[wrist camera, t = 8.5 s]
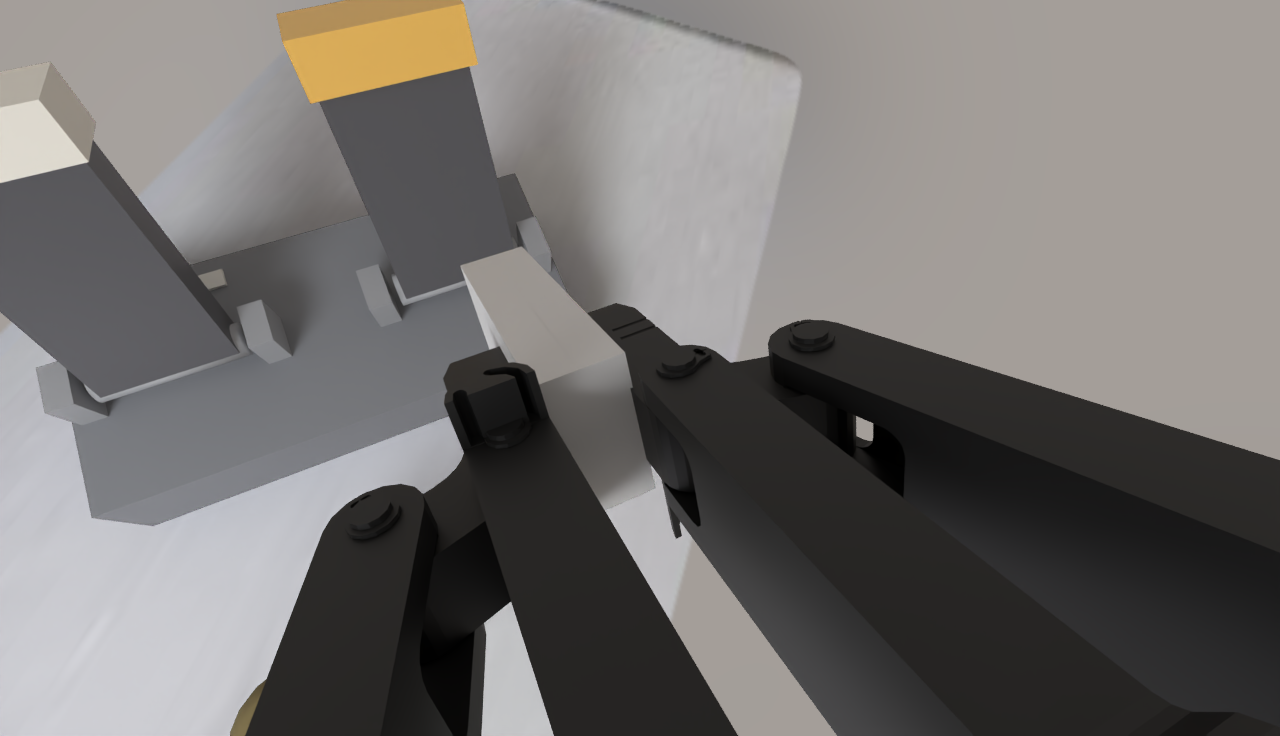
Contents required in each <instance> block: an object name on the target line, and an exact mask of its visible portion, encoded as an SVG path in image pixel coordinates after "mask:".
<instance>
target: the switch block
mask: <svg viewBox="0 0 1280 736" xmlns="http://www.w3.org/2000/svg"><path fill="white" fill-rule="evenodd" d="M497 181H498V185H499V189H500V193H501V197H502V201H503V205H504V209H505V213H506V217H507V221H508V226H509V230H510V234H511V238H512V237H513V238H514V240H515V242H516V244H517V246H518V247H523V248H524V249H525V250H526V251H527V252H528V253H529V254H530V255H531V257H532V258H533V259H534V260H535V261H536V262H537V263H538V264H539V265H540V266H541V267H542V268H543V269H544V270H545V271H546V272H547V273H548V274H549V275H550V276H551V277H552V278H553V279H554V280H555V281H556V282H557V283H558V284H559V285H560V286H561V287H562V288H563V289H564V290H565V291H566V288H565V286H564V284H563V282H562V279H561V277H560V275H559V273H558V270H557V268H556V266H555V263H554V261H553V259H552V257H551V250H550V248H549V245H548V243H547V241H546V239H545V236H544V234H543V232H542V230H541V227H540V225H539V223H538V221H537V218H536V216H535V217H534V216H533V213H532V211H531V209H530V207H529V204H528V202H527V200H526V197H525V195H524V193H523V191H522V188H521V186H520V184H519V181H518V179H517V177H516V175H515V173H514V174H511V175H507V176H504V177H500V178H497ZM190 266H191V268H192V269H193V270H194V272H195V273H196V274H197V276H198V277H199V278H200V279H201V281H202V282H203V283H204V285H205V286H206V287H207V288H208V290H209V291H210V292H211V294H212V295H213V296H214V298H215V299H216V300H217V301H218V303H219V304H220V305H221V307H222V308H223V309H224V311H225V312H226V313H227V314H228V316H229V317H230V318H231V320H232V321H233V322H234V323H237V322H239V323H240V324H242V327H243V331H244V334H245V338H246V341H247V345H248V348H249V349H250V350H252V351H253V352H254V353H253V354H252V355H249V356H246V357H243V358H240V359H237V360H234V361H231V362H228V363H224V364H221V365H218V366H215V367H212V368H209V369H206V370H203V371H200V372H197V373H193V374H190V375H187V376H184V377H181V378H178V379H175V380H172V381H169V382H166V383H162V384H159V385H156V386H153V387H150V388H147V389H144V390H141V391H138V392H135V393H131V394H128V395H125V396H122V397H119V398H116V399H113V400H110V401H107V402H103V403H101V402H98V401H96V400H95V399H94V398H93V397H92V396H91V395H90V394H89V393H88V391H87V390H86V388H85V386H84V383H83V382H81V381H80V380H79V379H78V378H77V377H76V376H74V375H73V374H72V373H71V372H70V371H69V370H67V369H66V368H65V367H64V366H63V365H62V364H60V363H59V362H58V361H57V362H54V363H50V364H47V365H44V366H40V367H37V368H36V371H37V376H38V381H39V386H40V392H41V397H42V402H43V407H44V412H45V413H46V414H49V415H52V416H55V417H58V418H61V419H64V420H67V421H70V422H72V425H73V430H74V434H75V439H76V444H77V449H78V454H79V459H80V463H81V468H82V473H83V478H84V483H85V487H86V492H87V497H88V502H89V507H90V512H91V516H92V518H96V519H103V520H111V521H119V522H126V523H134V524H141V525H149V526H154V525H157V524H160V523H163V522H165V521H168V520H171V519H173V518H176V517H179V516H181V515H184V514H187V513H189V512H192V511H195V510H197V509H200V508H203V507H205V506H208V505H211V504H214V503H216V502H219V501H222V500H224V499H227V498H230V497H232V496H235V495H238V494H240V493H243V492H246V491H248V490H251V489H254V488H256V487H259V486H262V485H264V484H267V483H270V482H273V481H275V480H278V479H281V478H283V477H286V476H289V475H291V474H294V473H297V472H299V471H302V470H305V469H307V468H310V467H313V466H315V465H318V464H321V463H324V462H326V461H329V460H332V459H334V458H337V457H340V456H342V455H345V454H348V453H350V452H353V451H356V450H358V449H361V448H364V447H366V446H369V445H372V444H375V443H377V442H380V441H383V440H385V439H388V438H391V437H393V436H396V435H399V434H401V433H404V432H407V431H409V430H412V429H415V428H417V427H420V426H423V425H426V424H428V423H431V422H434V421H436V420H439V419H442V418H444V417H447V416H449V415H448V413H447V410H446V408H445V405H444V399H445V394H446V393H447V390H446V387H445V383H444V380H443V377H444V375H445V373H446V371H447V369H448V367H449V364H450V363H453V362H456V361H459V360H461V359H464V358H467V357H470V356H473V355H476V354H479V353H481V352H484V351H487V350H489V347H488V344H487V341H486V338H485V335H484V332H483V330H482V327H481V324H480V321H479V318H478V315H477V312H476V310H475V307H474V304H473V301H472V298H471V295H470V292H469V290H468V287H467V285H466V286H463V287H460V288H457V289H454V290H451V291H448V292H445V293H441V294H438V295H435V296H432V297H429V298H426V299H423V300H420V301H417V302H414V303H410V304H407V305H404V306H403V304H402V302H401V300H400V297H399V295H398V293H397V290H396V288H395V285H394V282H393V279H392V276H391V275H392V274H395V272H394V270H393V268H392V266H391V263H390V261H389V259H388V256H387V254H386V252H385V250H384V247H383V245H382V243H381V241H380V238H379V236H378V234H377V232H376V229H375V227H374V225H373V223H372V220H371V218H370V216H369V215H366V216H362V217H359V218H355V219H352V220H348V221H345V222H341V223H338V224H334V225H331V226H327V227H323V228H320V229H316V230H313V231H309V232H306V233H302V234H299V235H295V236H292V237H288V238H285V239H281V240H278V241H274V242H270V243H267V244H263V245H260V246H256V247H253V248H249V249H246V250H242V251H239V252H235V253H232V254H228V255H224V256H221V257H217V258H214V259H210V260H207V261H203V262H200V263H196V264H193V265H190ZM566 292H567V291H566Z"/></svg>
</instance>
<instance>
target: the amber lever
mask: <svg viewBox="0 0 1280 736" xmlns="http://www.w3.org/2000/svg"><path fill="white" fill-rule="evenodd" d="M277 19H278V23H279V27H280V33H281V37H282V42H283V44H284V46H285V49H286V51H287V53H288V55H289V57H290V60H291V62H292V64H293V66H294V68H295V71H296V73H297V75H298V77H299V79H300V82H301V84H302V86H303V88H304V90H305V93H306V95H307V97H308V99H309V101H310V104H311V103H316V102H319V103H320V105H321V107H322V109H323V112H324V114H325V116H326V118H327V121H328V123H329V125H330V127H331V130H332V132H333V134H334V137H335V139H336V141H337V143H338V146H339V148H340V150H341V152H342V155H343V157H344V159H345V161H346V164H347V166H348V168H349V170H350V173H351V175H352V177H353V180H354V182H355V184H356V186H357V189H358V191H359V193H360V195H361V198H362V200H363V202H364V204H365V207H366V209H367V211H368V213H369V216H370V218H371V220H372V223H373V225H374V227H375V229H376V232H377V234H378V236H379V238H380V241H381V243H382V245H383V247H384V250H385V252H386V254H387V256H388V259H389V261H390V263H391V266H392V268H393V270H394V272H395V274H392V275H391V276H392V279H393V282H394V285H395V288H396V290H397V293H398V295H399V297H400V300H401V302H402V304H403V306H404V305H407V304H410V303H414V302H417V301H420V300H423V299H426V298H429V297H432V296H435V295H438V294H441V293H445V292H448V291H451V290H454V289H457V288H460V287H463V286H466V285H467V284H466V281H465V278H464V275H463V272H462V270H461V267H460V266H461V265H464V264H467V263H470V262H473V261H477V260H480V259H483V258H486V257H489V256H493V255H496V254H499V253H502V252H505V251H509V250H512V249H515V248H518V246H517V244H516V242H515V240H514V238H513V237H512V238H511V234H510V230H509V226H508V221H507V217H506V213H505V209H504V205H503V201H502V197H501V193H500V189H499V185H498V181H497V177H496V173H495V169H494V165H493V161H492V157H491V153H490V149H489V145H488V141H487V137H486V133H485V129H484V124H483V120H482V116H481V112H480V108H479V104H478V100H477V96H476V92H475V88H474V84H473V80H472V76H471V72H470V68H469V66H473V65H478V62H477V58H476V54H475V49H474V45H473V41H472V37H471V33H470V28H469V24H468V20H467V16H466V11H465V7H464V3H463V2H462V1H461V0H345V1H340V2H335V3H330V4H325V5H320V6H315V7H310V8H305V9H300V10H295V11H290V12H285V13H280V14H277Z"/></svg>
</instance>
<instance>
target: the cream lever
mask: <svg viewBox="0 0 1280 736" xmlns="http://www.w3.org/2000/svg"><path fill="white" fill-rule="evenodd" d="M95 125H96V122H95V120H94V119H93V118H92V116H91V115H90V114H89V112H88V111H87V110H86V108H85V107H84V106H83V104H82V103H81V102H80V100H79V99H78V98H77V96H76V95H75V94H74V93H73V91H72V90H71V88H70V87H69V86H68V84H67V83H66V82H65V80H64V79H63V78H62V76H61V75H60V74H59V72H58V71H57V70H56V68H55V67H54V66H53V64H52V63H51V62H46V63H41V64H36V65H31V66H26V67H21V68H16V69H11V70H6V71H1V72H0V312H1V313H2V314H3V315H5V316H6V317H7V318H8V319H9V320H10V321H12V322H13V323H14V324H15V325H16V326H17V327H18V328H20V329H21V330H22V331H23V332H24V333H25V334H27V335H28V336H29V337H30V338H31V339H32V340H34V341H35V342H36V343H37V344H38V345H39V346H41V347H42V348H43V349H44V350H45V351H46V352H48V353H49V354H50V355H51V356H52V357H53V358H55V359H56V360H57V361H58V362H59V363H60V364H62V365H63V366H64V367H65V368H66V369H67V370H69V371H70V372H71V373H72V374H73V375H74V376H76V377H77V378H78V379H79V380H80V381H81V382H83V383H84V386H85V388H86V390H87V391H88V393H89V394H90V395H91V396H92V397H93V398H94V399H95V400H96V401H98V402H101V403H103V402H107V401H110V400H113V399H116V398H119V397H122V396H125V395H128V394H131V393H135V392H138V391H141V390H144V389H147V388H150V387H153V386H156V385H159V384H162V383H166V382H169V381H172V380H175V379H178V378H181V377H184V376H187V375H190V374H193V373H197V372H200V371H203V370H206V369H209V368H212V367H215V366H218V365H221V364H224V363H228V362H231V361H234V360H237V359H240V358H243V357H246V356H249V355H252V354H253V353H254V352H253V351H252V350H250V349H249V348H248V345H247V341H246V338H245V334H244V331H243V327H242V324H240V323H239V322H237V323H234V322H233V321H232V320H231V318H230V317H229V316H228V314H227V313H226V312H225V311H224V309H223V308H222V307H221V305H220V304H219V303H218V301H217V300H216V299H215V298H214V296H213V295H212V294H211V292H210V291H209V290H208V288H207V287H206V286H205V285H204V283H203V282H202V281H201V279H200V278H199V277H198V276H197V274H196V273H195V272H194V270H193V269H192V268H191V266H190V265H189V264H188V263H187V261H186V260H185V259H184V257H183V256H182V255H181V253H180V252H179V251H178V250H177V248H176V247H175V246H174V244H173V243H172V242H171V241H170V239H169V238H168V237H167V235H166V234H165V233H164V231H163V230H162V229H161V228H160V226H159V225H158V224H157V222H156V221H155V220H154V218H153V217H152V216H151V215H150V213H149V212H148V211H147V209H146V208H145V207H144V206H143V204H142V203H141V202H140V200H139V199H138V198H137V196H136V195H135V194H134V193H133V191H132V190H131V189H130V187H129V186H128V185H127V184H126V182H125V181H124V180H123V179H122V177H121V176H120V174H119V173H118V172H117V170H116V169H115V168H114V167H113V165H112V164H111V163H110V161H109V160H108V159H107V158H106V156H105V155H104V154H103V152H102V151H101V150H100V149H99V147H98V146H97V145H96V143H95V142H94V141H93V136H94V131H95Z"/></svg>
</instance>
